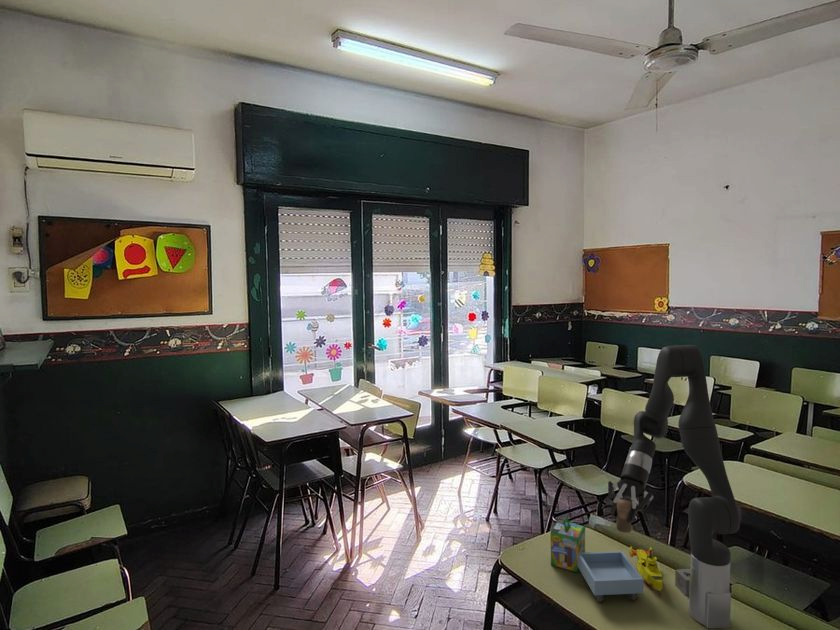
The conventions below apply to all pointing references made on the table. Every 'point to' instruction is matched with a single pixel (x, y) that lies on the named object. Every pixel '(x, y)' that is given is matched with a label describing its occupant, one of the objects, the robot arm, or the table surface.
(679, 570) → the grey cube with hole
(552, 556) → the chalk box
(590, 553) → the wheeled cart
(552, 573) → the table surface
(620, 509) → the cylinder
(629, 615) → the table surface
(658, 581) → the yellow toy submarine
